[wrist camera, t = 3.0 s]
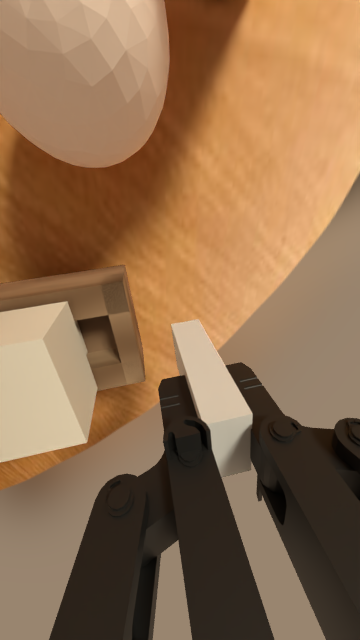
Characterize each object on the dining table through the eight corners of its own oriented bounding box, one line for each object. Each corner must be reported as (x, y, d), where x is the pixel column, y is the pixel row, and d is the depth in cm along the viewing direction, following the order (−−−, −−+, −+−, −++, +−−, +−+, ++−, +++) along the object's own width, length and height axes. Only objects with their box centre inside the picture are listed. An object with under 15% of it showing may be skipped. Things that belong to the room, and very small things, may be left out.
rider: (-32, 306, 14) (-134, 370, 9) (75, 289, 15) (42, 338, 9) (12, 386, 17) (-45, 472, 11) (101, 368, 17) (87, 442, 12)
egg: (-11, 42, 13) (-463, -464, 3) (122, -16, 13) (92, -722, 3) (70, 195, 17) (-20, 184, 7) (175, 150, 17) (239, 72, 7)
